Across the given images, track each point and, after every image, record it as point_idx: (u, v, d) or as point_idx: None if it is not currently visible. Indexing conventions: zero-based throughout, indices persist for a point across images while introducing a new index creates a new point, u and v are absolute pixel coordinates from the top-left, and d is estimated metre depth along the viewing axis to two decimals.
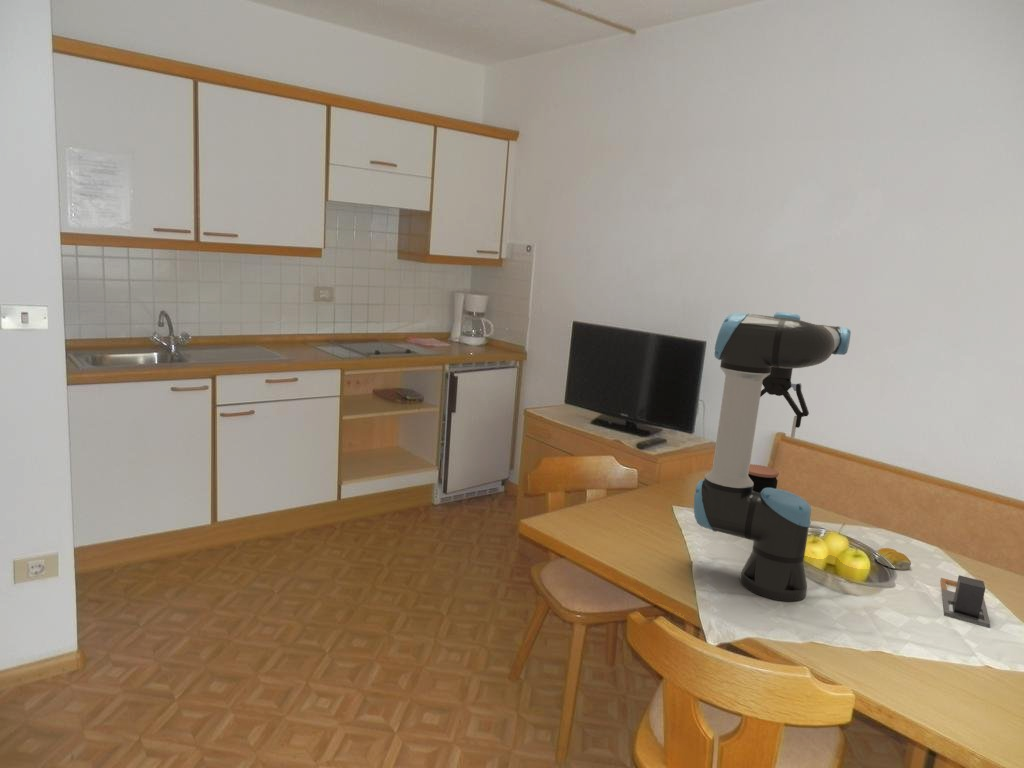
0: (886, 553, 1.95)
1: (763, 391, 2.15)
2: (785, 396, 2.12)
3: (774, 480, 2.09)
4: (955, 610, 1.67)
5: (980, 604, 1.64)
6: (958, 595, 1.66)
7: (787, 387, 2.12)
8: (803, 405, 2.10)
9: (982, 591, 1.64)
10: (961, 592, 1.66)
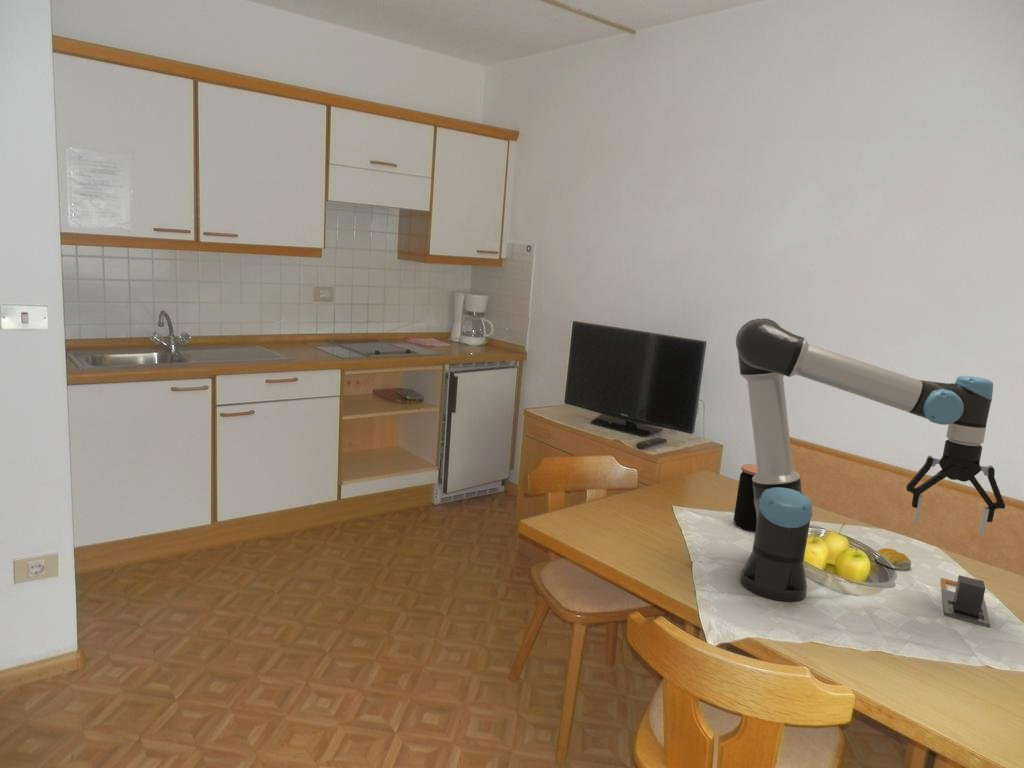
0: (887, 553, 1.95)
1: (942, 475, 1.69)
2: (974, 483, 1.67)
3: None
4: (955, 610, 1.67)
5: (980, 604, 1.64)
6: (958, 595, 1.66)
7: (976, 471, 1.67)
8: (998, 494, 1.65)
9: (982, 591, 1.64)
10: (961, 592, 1.66)
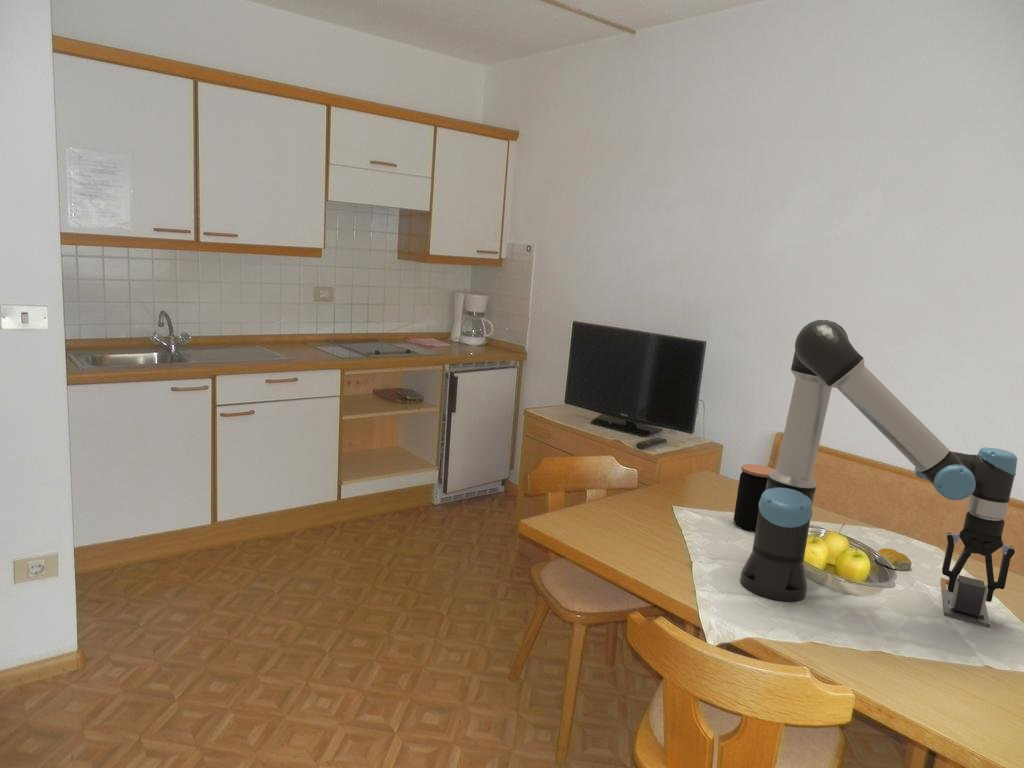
0: (887, 554, 1.94)
1: (968, 552, 1.65)
2: (987, 559, 1.63)
3: None
4: (955, 610, 1.67)
5: (980, 604, 1.64)
6: (958, 595, 1.66)
7: (996, 546, 1.63)
8: (1004, 575, 1.62)
9: (982, 591, 1.64)
10: (961, 592, 1.66)
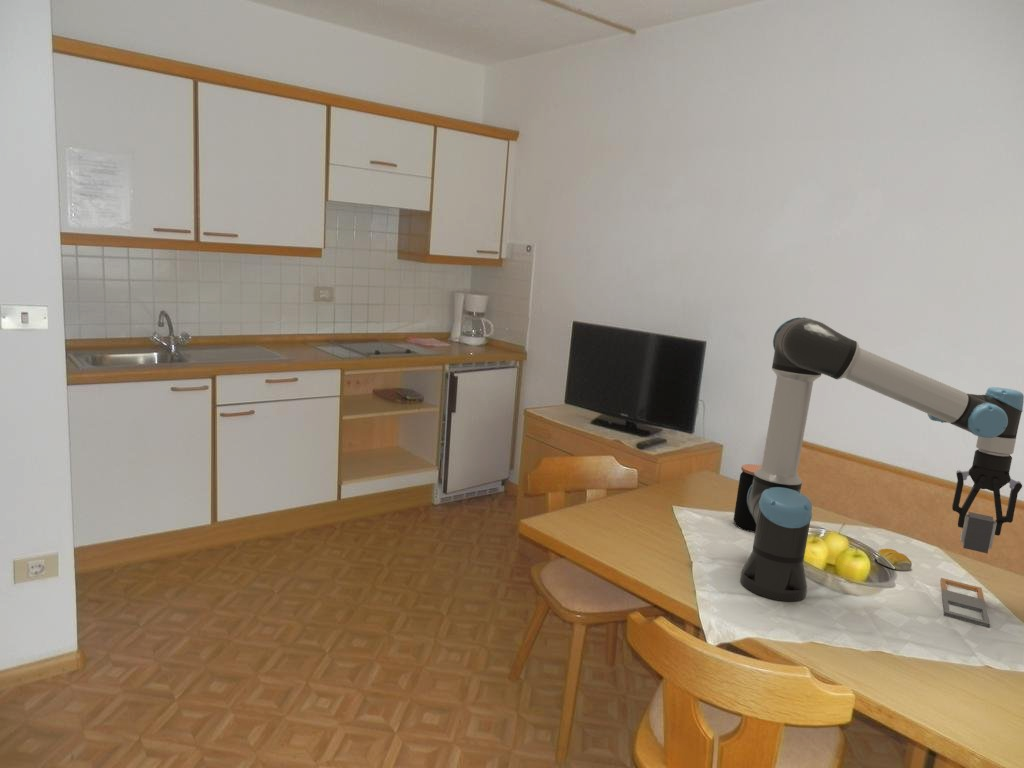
0: (887, 554, 1.94)
1: (977, 488, 1.72)
2: (996, 493, 1.70)
3: None
4: (965, 544, 1.74)
5: (989, 537, 1.71)
6: (968, 529, 1.73)
7: (1004, 481, 1.70)
8: (1012, 509, 1.69)
9: (991, 525, 1.71)
10: (970, 527, 1.73)
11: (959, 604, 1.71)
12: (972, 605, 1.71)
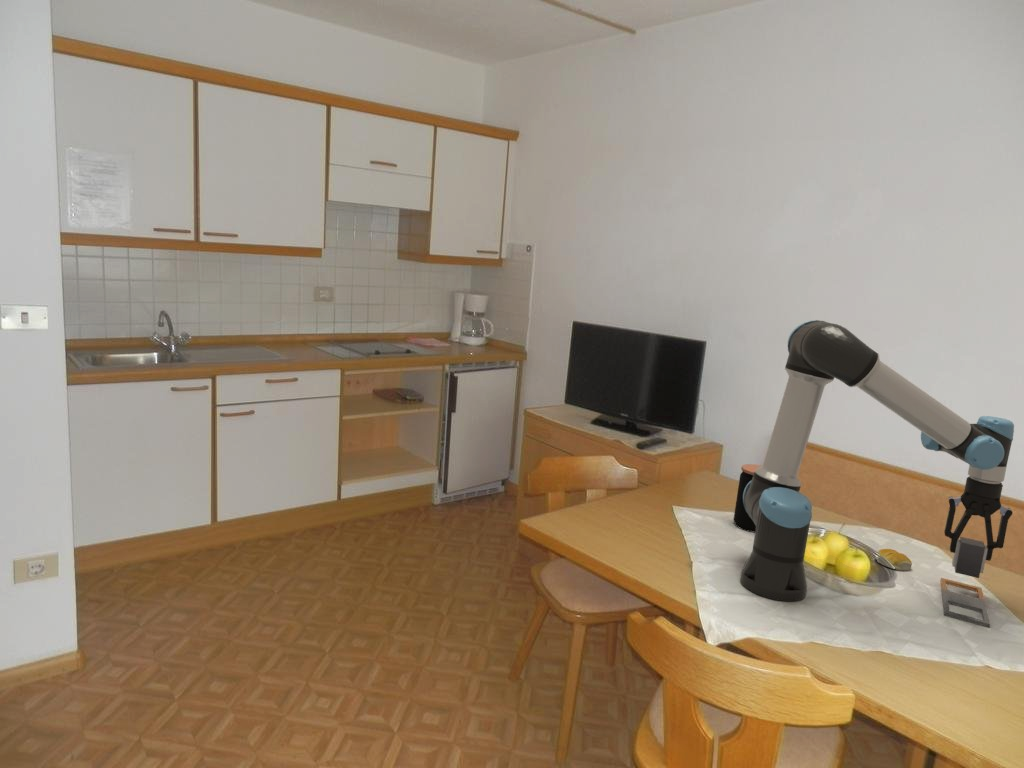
0: (887, 554, 1.94)
1: (968, 514, 1.76)
2: (987, 520, 1.74)
3: None
4: (957, 569, 1.78)
5: (980, 562, 1.75)
6: (960, 554, 1.77)
7: (995, 508, 1.74)
8: (1003, 535, 1.74)
9: (982, 550, 1.75)
10: (962, 552, 1.77)
11: (959, 604, 1.71)
12: (972, 605, 1.71)
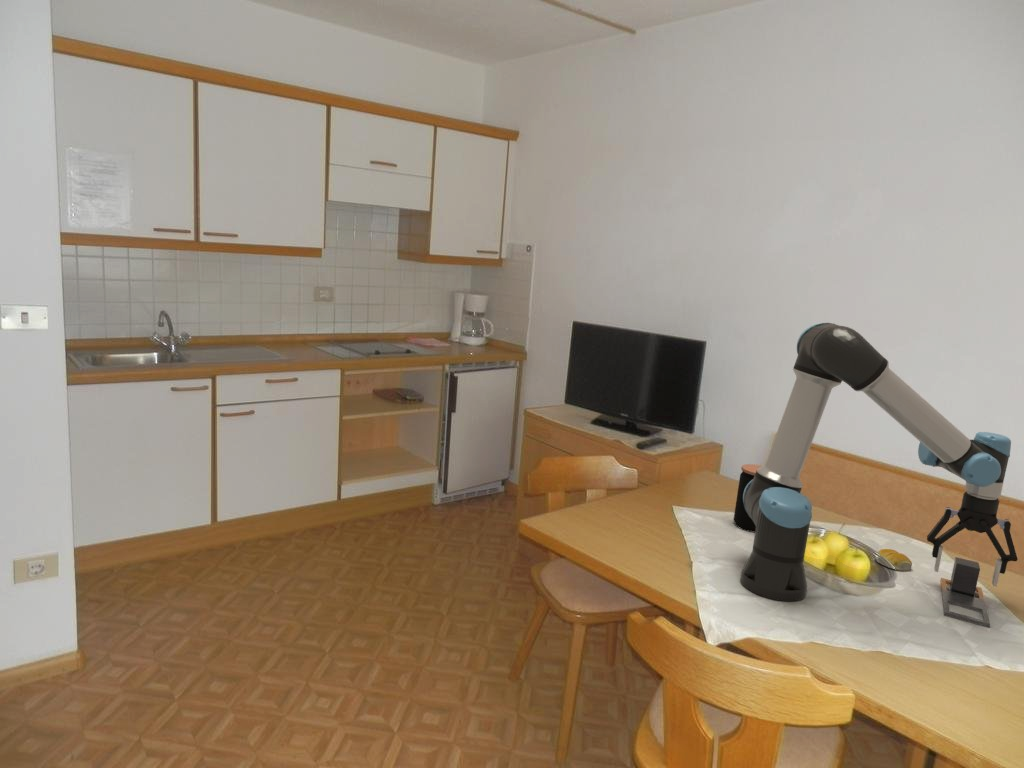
0: (887, 554, 1.94)
1: (961, 527, 1.77)
2: (989, 535, 1.74)
3: None
4: (952, 589, 1.79)
5: (975, 583, 1.76)
6: (955, 575, 1.78)
7: (992, 523, 1.74)
8: (1012, 548, 1.73)
9: (977, 572, 1.76)
10: (957, 573, 1.78)
11: (959, 604, 1.71)
12: (972, 605, 1.71)
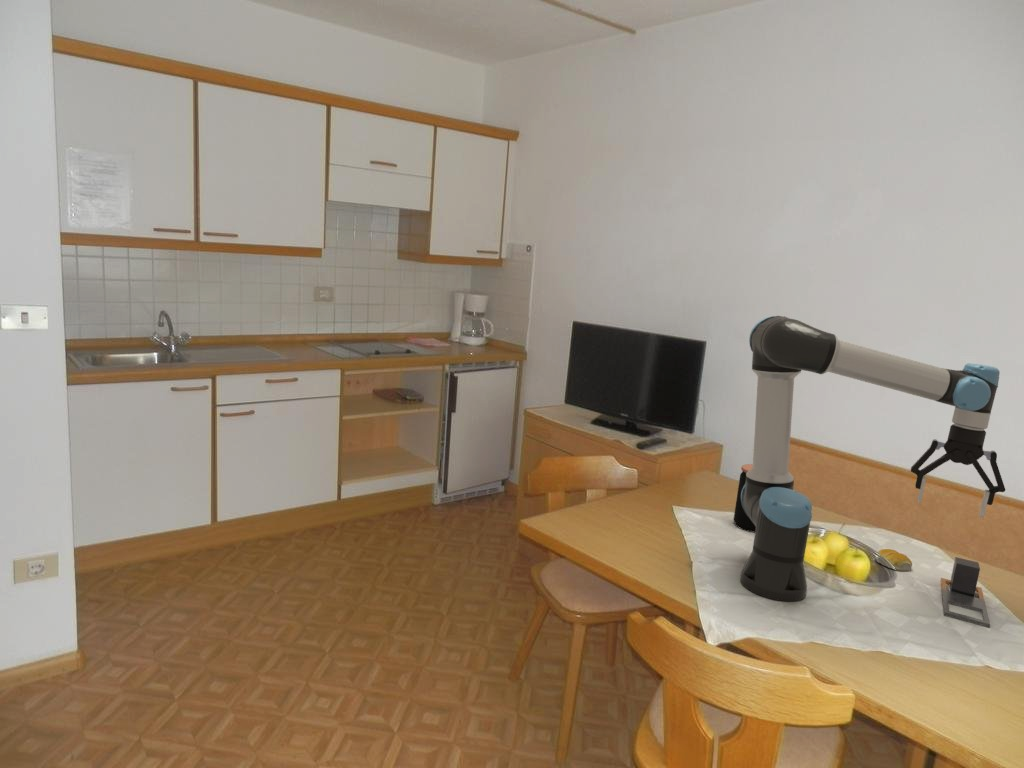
0: (888, 554, 1.94)
1: (946, 458, 1.76)
2: (976, 466, 1.74)
3: None
4: (952, 589, 1.79)
5: (975, 583, 1.76)
6: (955, 575, 1.78)
7: (979, 455, 1.74)
8: (999, 478, 1.72)
9: (977, 572, 1.76)
10: (957, 573, 1.78)
11: (959, 604, 1.71)
12: (972, 605, 1.71)
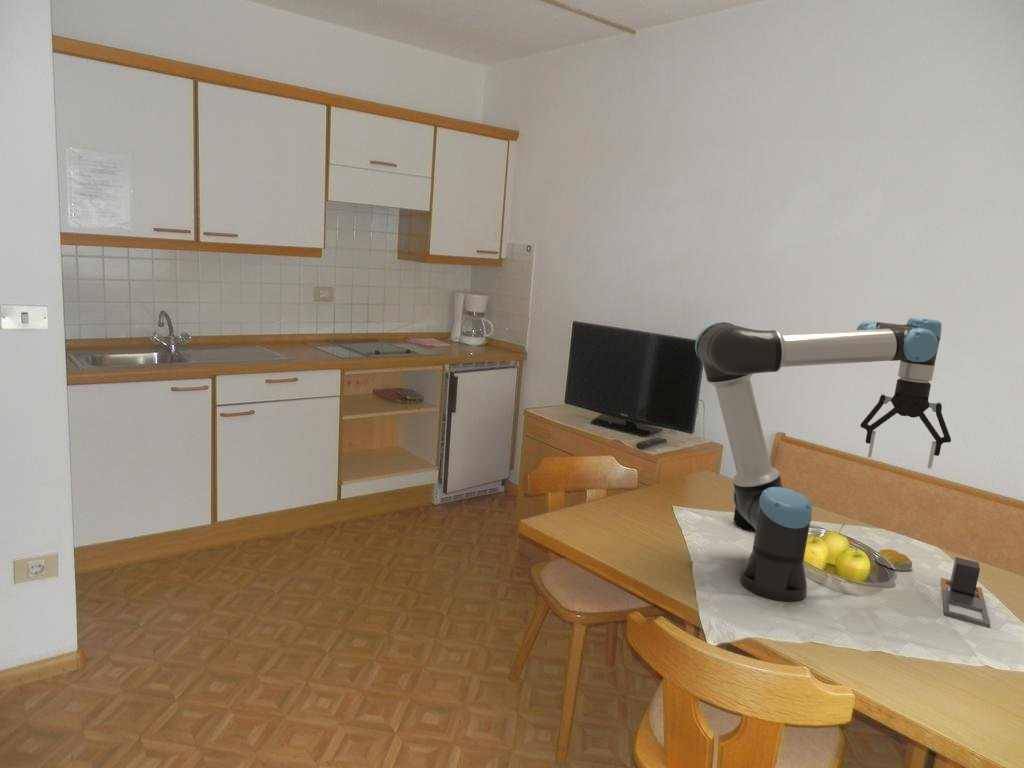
0: (888, 554, 1.94)
1: (893, 412, 1.79)
2: (922, 418, 1.76)
3: None
4: (952, 589, 1.79)
5: (975, 583, 1.76)
6: (955, 575, 1.78)
7: (924, 407, 1.76)
8: (945, 429, 1.75)
9: (977, 572, 1.76)
10: (957, 573, 1.78)
11: (959, 604, 1.71)
12: (972, 605, 1.71)
